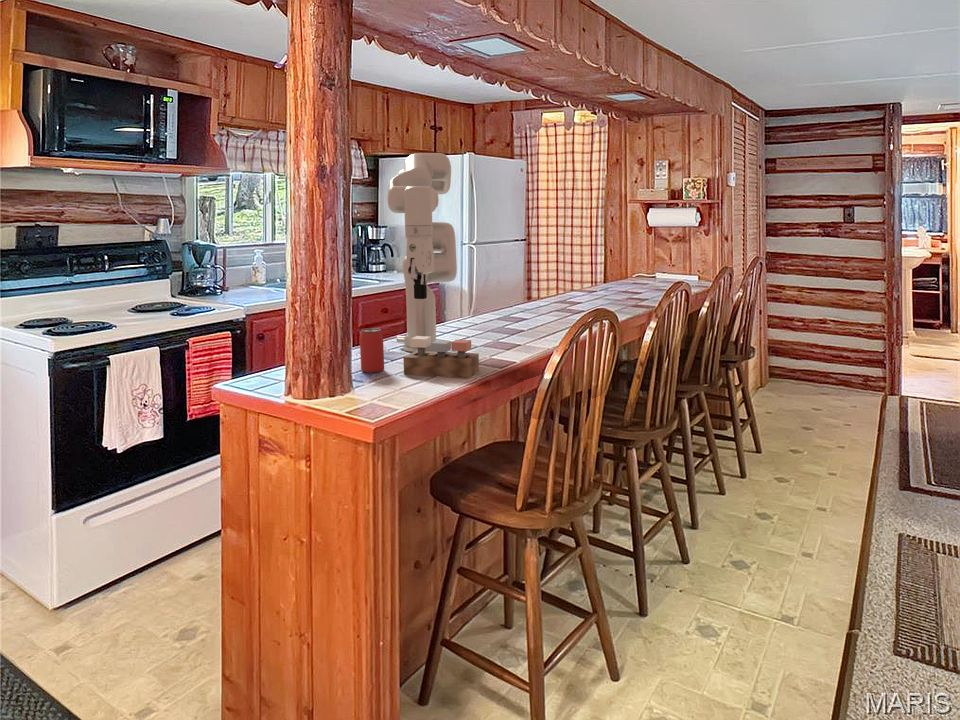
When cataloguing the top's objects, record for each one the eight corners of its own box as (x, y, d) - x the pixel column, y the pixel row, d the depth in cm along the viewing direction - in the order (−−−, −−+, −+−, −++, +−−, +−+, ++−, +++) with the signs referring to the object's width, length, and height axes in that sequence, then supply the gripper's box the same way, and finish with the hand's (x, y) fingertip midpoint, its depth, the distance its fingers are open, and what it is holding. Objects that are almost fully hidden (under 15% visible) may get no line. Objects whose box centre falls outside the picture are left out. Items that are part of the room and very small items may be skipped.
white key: (411, 364, 204) (411, 338, 202) (417, 361, 208) (416, 335, 206) (426, 365, 202) (425, 339, 201) (431, 361, 206) (431, 336, 205)
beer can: (356, 371, 207) (354, 330, 204) (375, 367, 211) (373, 327, 209) (370, 374, 202) (368, 332, 200) (388, 370, 207) (387, 329, 204)
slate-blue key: (431, 368, 202) (431, 343, 201) (437, 365, 206) (436, 340, 205) (446, 369, 201) (445, 343, 199) (451, 366, 205) (451, 341, 203)
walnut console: (403, 374, 202) (403, 357, 201) (417, 367, 211) (416, 350, 210) (468, 378, 196) (468, 360, 195) (478, 370, 206) (478, 353, 205)
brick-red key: (451, 368, 200) (451, 342, 199) (456, 365, 204) (456, 339, 203) (466, 369, 199) (466, 342, 197) (471, 365, 203) (471, 340, 202)
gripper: (421, 233, 189) (423, 302, 193) (440, 231, 203) (442, 295, 207) (395, 233, 192) (397, 301, 195) (416, 231, 205) (417, 295, 209)
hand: (420, 298), depth 201 cm, fingers closed
